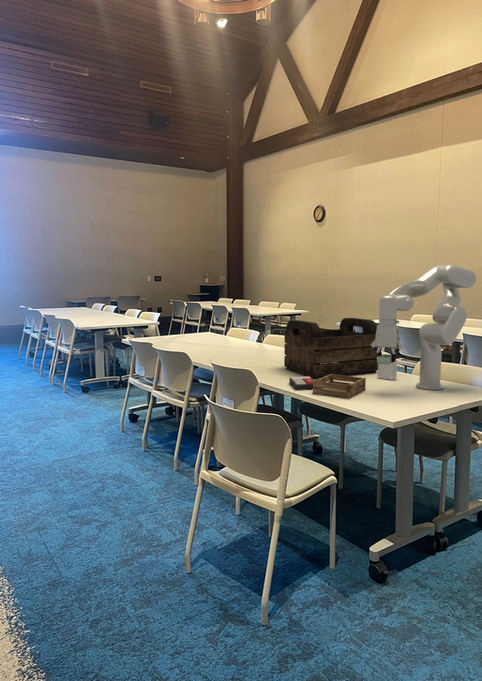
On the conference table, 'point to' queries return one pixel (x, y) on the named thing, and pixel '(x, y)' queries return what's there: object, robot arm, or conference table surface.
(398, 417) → the conference table surface
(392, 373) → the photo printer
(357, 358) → the wooden crate
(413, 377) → the conference table surface
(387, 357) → the box
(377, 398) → the conference table surface
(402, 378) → the conference table surface
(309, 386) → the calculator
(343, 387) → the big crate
